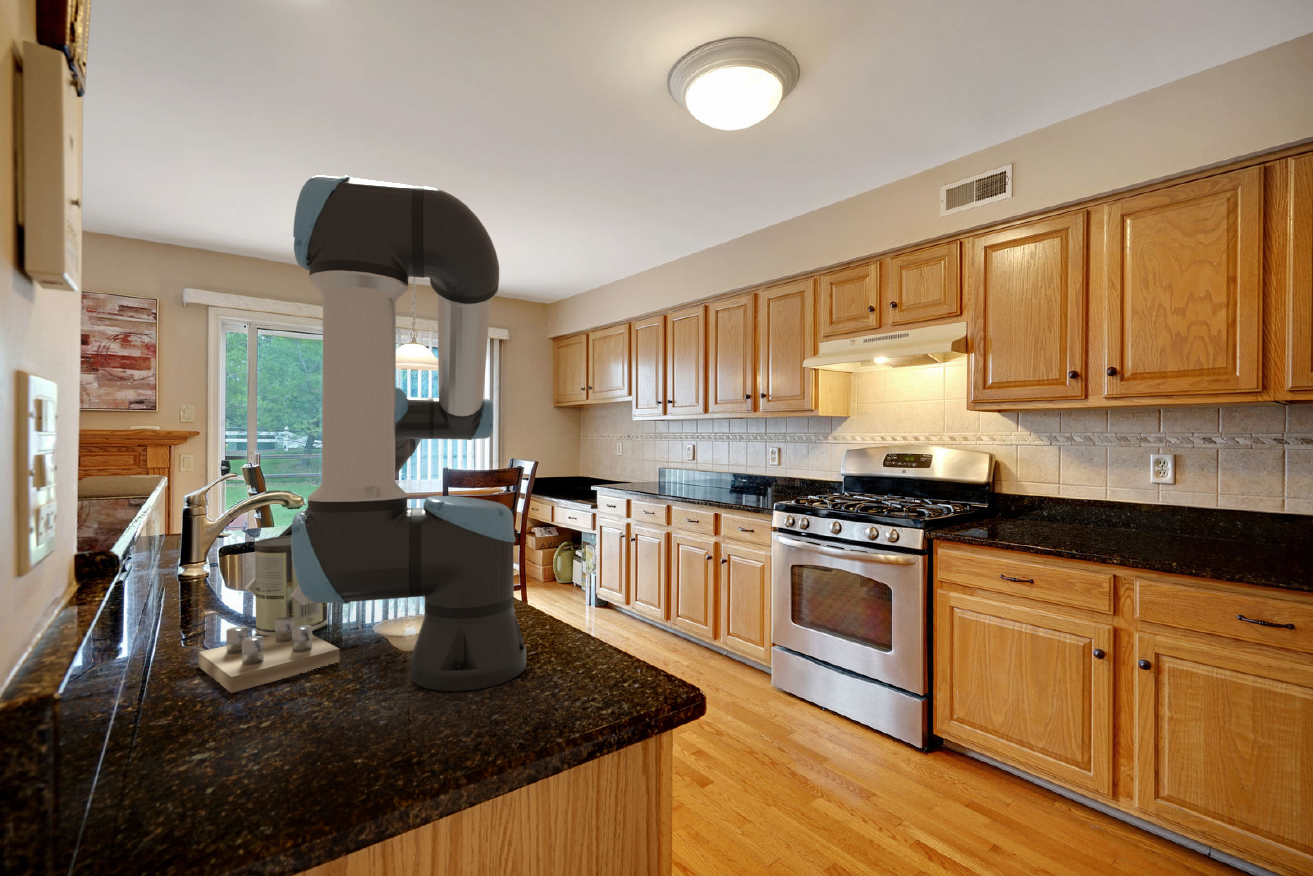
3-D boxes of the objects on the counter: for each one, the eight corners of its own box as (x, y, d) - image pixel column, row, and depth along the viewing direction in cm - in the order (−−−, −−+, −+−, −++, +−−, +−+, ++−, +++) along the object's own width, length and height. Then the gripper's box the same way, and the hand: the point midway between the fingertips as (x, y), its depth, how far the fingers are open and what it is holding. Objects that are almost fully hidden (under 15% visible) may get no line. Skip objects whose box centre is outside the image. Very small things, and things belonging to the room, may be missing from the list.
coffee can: (284, 616, 107) (284, 533, 107) (341, 618, 106) (341, 534, 106) (238, 635, 97) (237, 544, 97) (300, 638, 96) (300, 546, 95)
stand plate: (339, 663, 87) (339, 648, 87) (231, 693, 77) (231, 676, 77) (301, 642, 95) (301, 628, 95) (198, 666, 85) (198, 652, 85)
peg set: (315, 649, 87) (315, 627, 87) (245, 666, 80) (245, 643, 80) (290, 636, 92) (290, 615, 92) (224, 651, 86) (223, 629, 86)
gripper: (417, 505, 110) (339, 618, 96) (328, 498, 120) (245, 601, 106) (393, 477, 105) (307, 592, 91) (302, 472, 115) (211, 576, 101)
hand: (274, 596), depth 99 cm, fingers closed on coffee can, 10 cm apart
